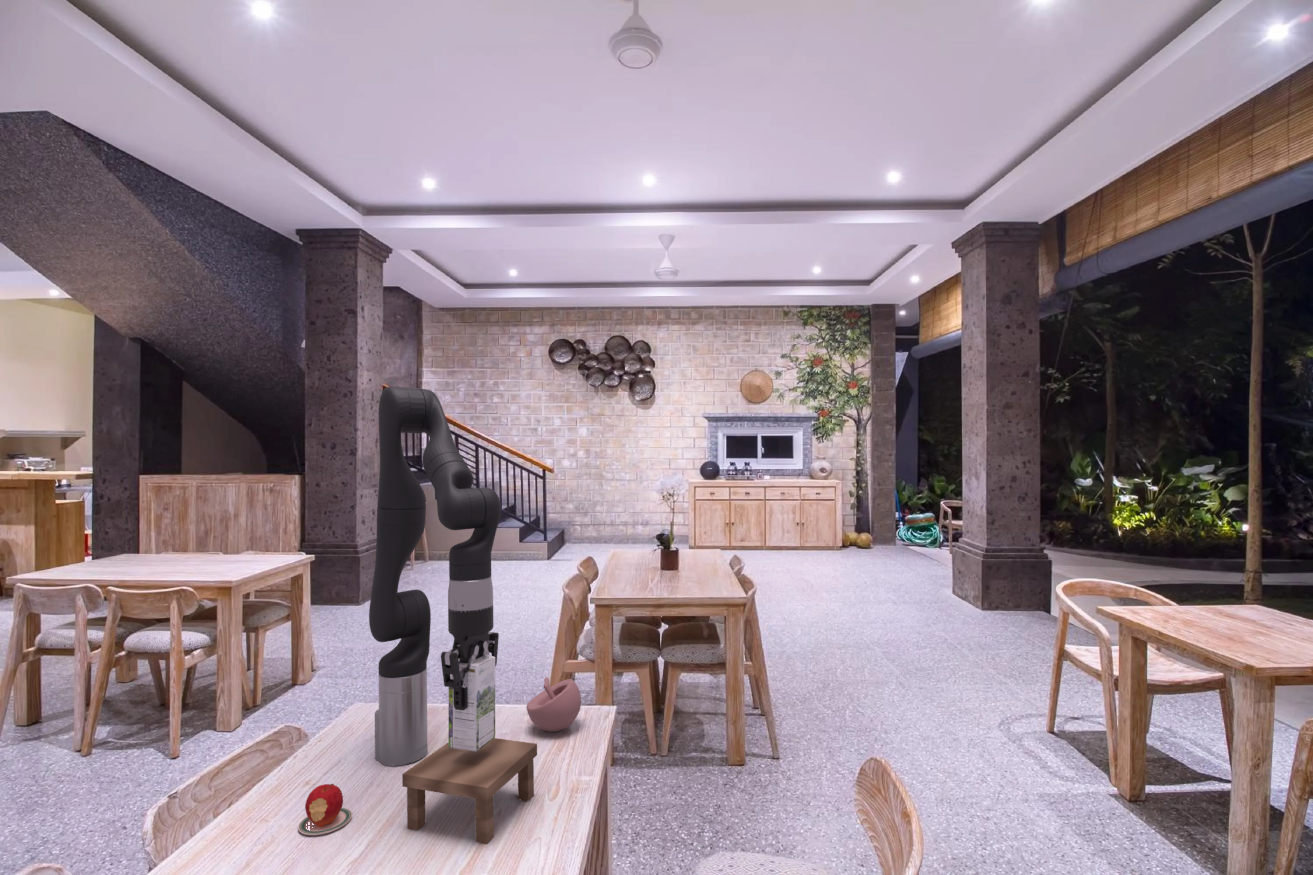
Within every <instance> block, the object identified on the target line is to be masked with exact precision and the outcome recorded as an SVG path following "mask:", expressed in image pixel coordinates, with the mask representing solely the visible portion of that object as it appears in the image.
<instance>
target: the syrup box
mask: <svg viewBox="0 0 1313 875" xmlns="http://www.w3.org/2000/svg"><path fill="white" fill-rule="evenodd" d="M467 665H468V663H459V667H462V668H465V667H467ZM452 676H453V675H452V674H450V678H451V679H452ZM462 677H463V672H460V679H461V680H462ZM467 687H468V707H467V709H465V710H456V709H455V708H454V698H453V687H448V742H447V743H448V746H449V748H454V749H461V750H468V751H478V750H479V749H481V748H482V747H483V746H485V745H486V744H487V743H489V742H490V741H491V740H493V739H494V738H496V667H495V657H494V656H492V655H491V654H489V655H488V656H486V657H483V656H482V657H480V658H478V659H476V660H475V663H473V664H471V667H470V673H468V683H467Z"/></svg>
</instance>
